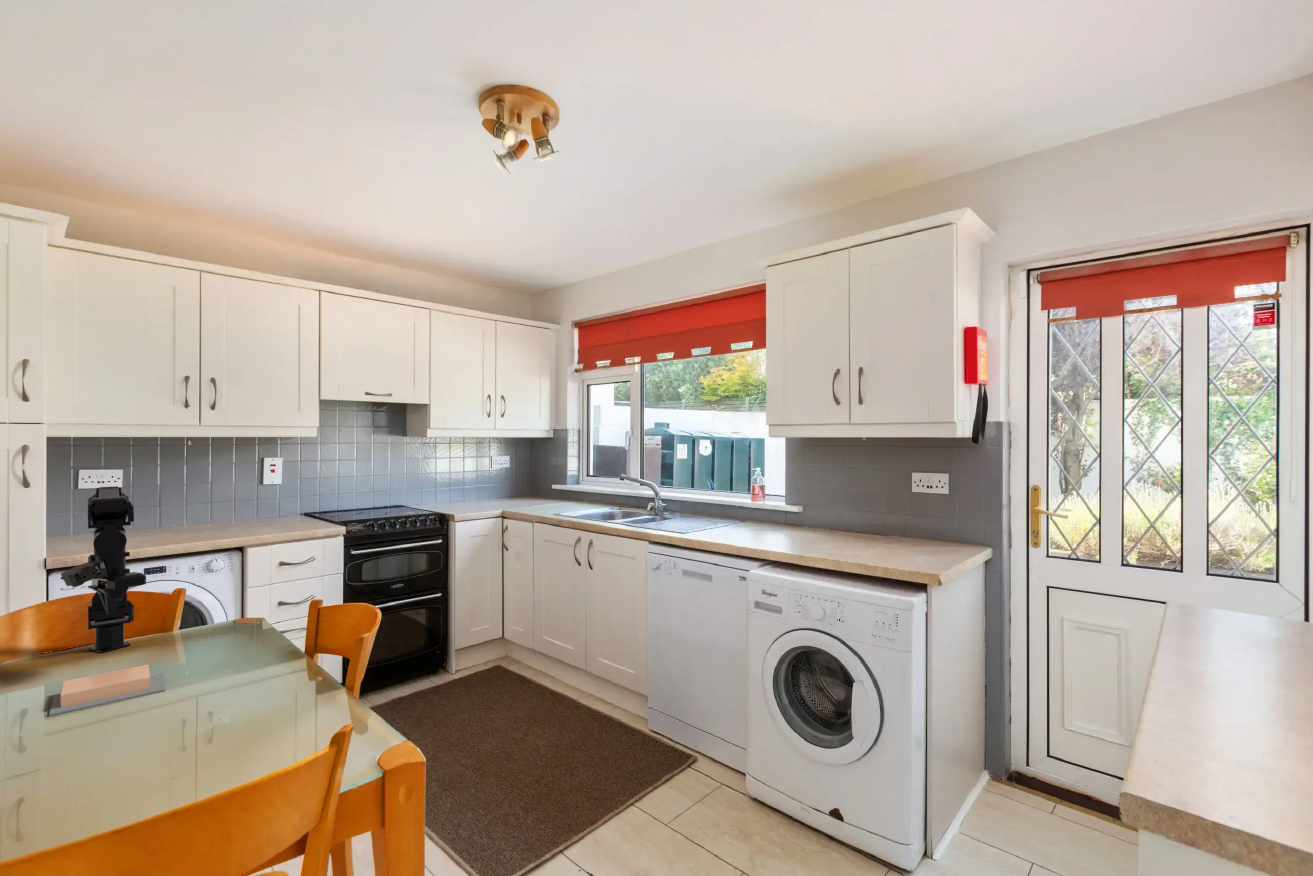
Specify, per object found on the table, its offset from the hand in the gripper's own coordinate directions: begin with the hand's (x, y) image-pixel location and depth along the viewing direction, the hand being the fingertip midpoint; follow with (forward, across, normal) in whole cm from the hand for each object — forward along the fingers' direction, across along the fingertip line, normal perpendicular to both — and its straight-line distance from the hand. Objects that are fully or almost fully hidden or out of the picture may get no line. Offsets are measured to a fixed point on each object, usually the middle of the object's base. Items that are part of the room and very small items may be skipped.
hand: (110, 613), depth 146 cm
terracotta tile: (+11, +13, -6) cm, 18 cm away
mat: (+13, +19, -9) cm, 25 cm away
